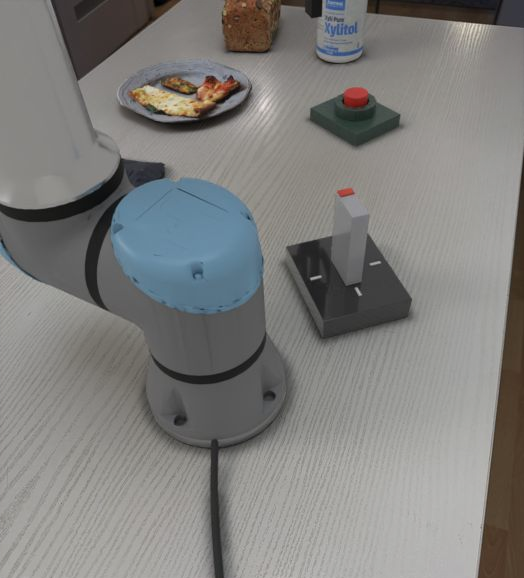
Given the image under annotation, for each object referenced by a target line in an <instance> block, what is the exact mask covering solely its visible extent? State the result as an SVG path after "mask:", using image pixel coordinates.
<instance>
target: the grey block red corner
mask: <svg viewBox="0 0 524 578" xmlns="http://www.w3.org/2000/svg"><path fill="white" fill-rule="evenodd" d="M333 204H334V205H333V222H332V235H331V236H332V252H331V261H332V263H333V264H334V266H335V268H336V269H337V271H338V273H339V275H340V276H341V278H342V280H343V282H344V283H345V285H346V286H348V285H352V284H356V283H360V282H361V280H362V272H363V264H364V256H365V248H366V240H367V233H368V230H369V222H370V215H371V214H370V212H369V210H368V209H367V208H366V206H365V205H364V203H363V202H362V200H361V199H360V198H359V197H358V195H357V194H356V192H355V190H354V189H353V188H352V187H347V188H341V189H338V190H336V191H335V192H334V203H333Z"/></svg>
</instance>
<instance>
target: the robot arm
mask: <svg viewBox="0 0 524 578" xmlns="http://www.w3.org/2000/svg"><path fill="white" fill-rule="evenodd" d="M322 2H323V0H304V13H305V14H307V15H308V17H309V18H310V19H318V17H322ZM118 146H119V145H118V144H117V142H116V140H114V139H113V137H111V136H110V135H109V134H107V133H105V132H103V131H101V130H99V129H96V128H94V126H93V123H92V120H91V118H90V114H89V111H88V108H87V105H86V102H85V99H84V96H83V93H82V89H81V87H80V85H79V81H78V78H77V76H76V72H75V70H74V66H73V63H72V60H71V57H70V55H69V51H68V48H67V45H66V43H65V39H64V37H63V34H62V30H61V28H60V25H59V22H58V19H57V16H56V12H55V9H54V8H53V3H52V1H51V0H0V255H1V256H2V258H3V259H4V260H6V261H7V262H8V263H9V264H10V265H12V266H13V267H15V268H16V269H18V271H20V272H21V273H22V274H24V275H25V276H27V277H29V278H31V279H32V280H34V281H36V282H39V283H40V284H41V283H42V284H45V285H47V286H50V287H53V288H55V289H57V290H58V291H59V290H60V291H61V292H64V293H66V294H68V295H71V296H73V297H75V298H77V299H79V300H82V301H84V302H86V303H89V304H90V305H93V306H95V307H97V308H100V309H102V310H104V311H107V312H108V313H110V314H113V315H115V316H117V317H119V318H122V319H124V320H126V321H128V322H130V323H132V324H134V325H136V326H137V327H138V328H139V329H140V330H141V331H142V333H143V336H144V339H145V343H146V344H147V348H148V350H149V361H148V364H147V365H148V366H147V371H146V378H145V392H146V393H145V394H146V399H147V403H148V406H149V409H150V411H151V413H152V417H153V418H154V420H155V422H156V423H157V424H158V426H159V427H160V428H161V429H162V430H163V431H164V432H165V433H167V434H168V436H170V437H172V438H174V439H175V440H177V441H179V442H181V443H184V444H187V445H189V446H192V447H193V446H194V447H198V448H207V449H208V448H210V475H209V477H210V479H209V481H210V483H209V484H210V486H209V487H210V489H209V493H210V494H209V495H210V517H211V518H210V522H211V539H212V554H213V566H214V578H225V575H224V564H223V554H222V542H221V541H222V540H221V527H220V512H219V511H220V510H219V509H220V508H219V448H224V447H229V446H233V445H237V444H240V443H244V442H246V441H248V440H250V439H253V437H255V436H257V435H259V434H260V433H261V432H263V431H264V430H265V429H266V428H267V427H269V426H270V424H271V423H272V422H273V421H274V420H275V419H276V417H277V416H278V414H279V413H280V412H281V409H282V407H283V405H284V402H285V399H286V394H287V372H286V368H285V364H284V360H283V358H282V355H281V354H280V352H279V350H278V348H277V347H276V345H275V343H274V342H273V340H272V338H271V337H270V335H269V334H268V332H267V323H266V321H267V319H266V306H265V287H264V271H265V260H264V259H265V258H264V254H263V250H262V245H261V243H260V237H259V230H258V227H257V223H256V221H255V218H254V215H253V214H252V212H251V211H250V209H249V208H248V206H247V204H245V203H244V202H243V200H241V199H240V198H239V197H238V196H237V195H236V194H234V193H233V192H232V191H230V190H228V189H227V188H225V187H223V186H221V185H219V184H218V183H214V182H211V181H208V180H205V179H202V178H201V179H200V178H195V177H186V176H183V177H182V176H181V177H180V178H179V180H178V181H173V180H171V179H170V178H169V177H167V178H160V179H159V180H155V181H151V182H148V183H145V184H144V185H141V186H139V187H137V188H136V187H134V186H133V185H132V184H131V183H130V182H129V180H128V177H127V174H126V171H125V167H124V164H123V161H122V159H123V157H122V155H121V151H120V148H119V147H118Z"/></svg>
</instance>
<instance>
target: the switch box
mask: <svg viewBox="0 0 524 578" xmlns="http://www.w3.org/2000/svg"><path fill="white" fill-rule="evenodd" d="M309 121H311V122H313V123H315V124H316V125H318V126H319V127H322V128H323V129H325V130H327V131H329V132H330V133H332V134H334V135H335V136H337V137H338V138H340V139H342V140H344V141H346V142H347V143H348V144H351V145H352V146H354V147H358V146H360V145H363V144H365V143H366V142H369V141H371V140H373V139H376V138H377V137H379V136H381V135H384V134H386V133H387V132H390V131H392V130H394V129H396V128H398V127H400V122H401V113H399V112H397V111H395V110H394V109H392V108H389V107H387V106H385V105H383V104H382V103H379V102H378V101H377V99H376V97H375V96H374V95H373V94H371V93H369V92H368V101H367V105H365V106H363V107H349V106H346V105H344V92H343V93H340V94H338V95H337V96H335V97H333V98H330V99H328V100H325V101H322V102H320V103H318V104H316V105H314V106H311V107H310V108H309Z"/></svg>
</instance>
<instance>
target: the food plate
mask: <svg viewBox="0 0 524 578" xmlns="http://www.w3.org/2000/svg"><path fill="white" fill-rule="evenodd" d="M252 90H253V85H252V83H251V81H250V79H249V78H248V76H246V75H245V73H244V72H243V71H241V70H238V69H235V68H233V67H231V66H227V65H225V64H222V63H219V62H215V61H212V60H210V59H201V58H199V59H187V60H174V61H172V60H170V61H165V62H161V63H156V64H153V65H150V66H146V67H144V68H143V69H141V70H139V71H137V72H135V73H134V74H131V75H129V76H128V77H126V79H125V80H124V82H122V83H121V84H120V85H119V87H118V88H117V91H116V98H117V100H118V102H119V105H120V106H122V107H124V108H126V109H129V110H131V111H132V112H133V113H137V114H138V115H141V116H144V117H146V118H148V119H151V120H153V121H155V122H156V121H157V122H158V123H159V122H160V123H163V124H164V123H165V124H182V123H184V124H185V123H186V124H187V123H197V122H201V121H204V120H212V119H215V118H217V117H218V116H220V115H223V114H225V113H227V112H229V111H232V110H233V109H235V108H238V107H240V106H241V105H242V104H244V103H245V102H246V100H247V99H248V98H249V95H250V93H251V91H252Z"/></svg>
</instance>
